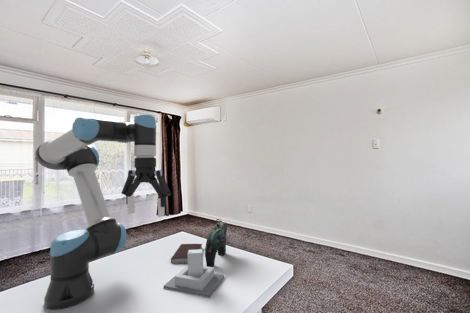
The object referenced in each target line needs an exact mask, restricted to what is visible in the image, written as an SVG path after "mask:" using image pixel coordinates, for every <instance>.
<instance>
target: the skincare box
mask: <svg viewBox="0 0 470 313" xmlns="http://www.w3.org/2000/svg"><path fill="white" fill-rule="evenodd" d="M203 251H204V250H203V248H202V249H197V250H189V251H188V254H187V256H188V263H187V265H188V276H192V277H198V278H200V277H201V276H202V275H203V266H204V254H203Z"/></svg>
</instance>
